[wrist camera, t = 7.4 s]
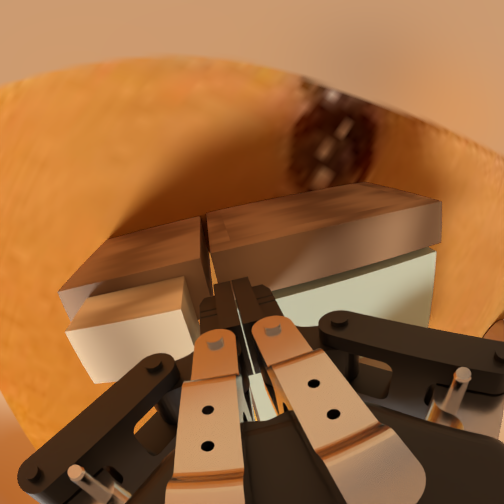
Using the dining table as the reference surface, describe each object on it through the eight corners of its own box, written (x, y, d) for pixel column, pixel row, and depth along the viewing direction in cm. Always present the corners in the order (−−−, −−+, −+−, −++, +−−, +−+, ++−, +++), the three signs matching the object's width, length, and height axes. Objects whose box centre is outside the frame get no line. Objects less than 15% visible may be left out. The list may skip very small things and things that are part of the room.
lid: (418, 242, 17) (522, 299, 9) (399, 394, 22) (449, 460, 14) (226, 293, 16) (255, 424, 8) (267, 442, 21) (293, 529, 13)
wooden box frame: (364, 181, 23) (441, 201, 14) (366, 371, 30) (406, 425, 21) (106, 238, 21) (56, 290, 12) (185, 419, 28) (187, 489, 19)
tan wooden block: (184, 275, 13) (181, 309, 10) (200, 327, 14) (202, 368, 11) (87, 297, 12) (64, 331, 10) (108, 345, 13) (94, 383, 10)
